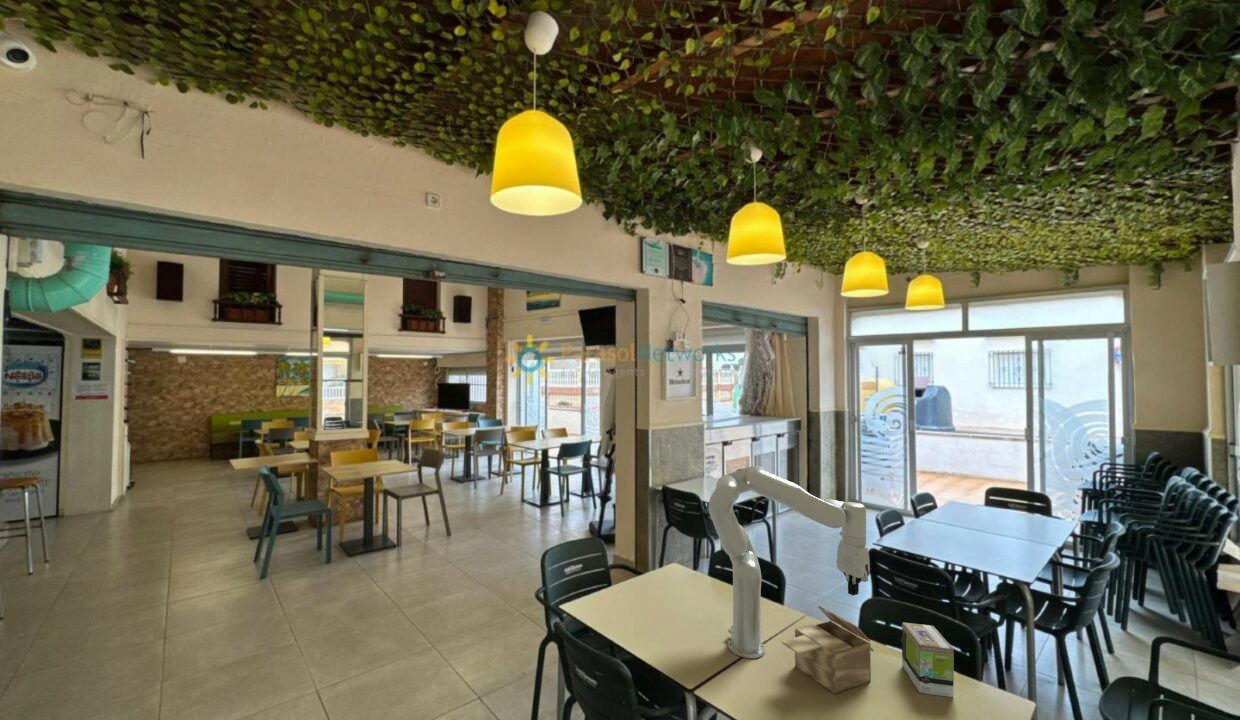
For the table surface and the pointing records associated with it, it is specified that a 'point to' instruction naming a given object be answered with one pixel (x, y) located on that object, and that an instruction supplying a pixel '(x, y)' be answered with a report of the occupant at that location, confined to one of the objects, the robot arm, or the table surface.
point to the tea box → (928, 659)
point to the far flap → (845, 624)
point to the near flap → (815, 640)
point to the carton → (837, 661)
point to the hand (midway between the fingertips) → (853, 593)
